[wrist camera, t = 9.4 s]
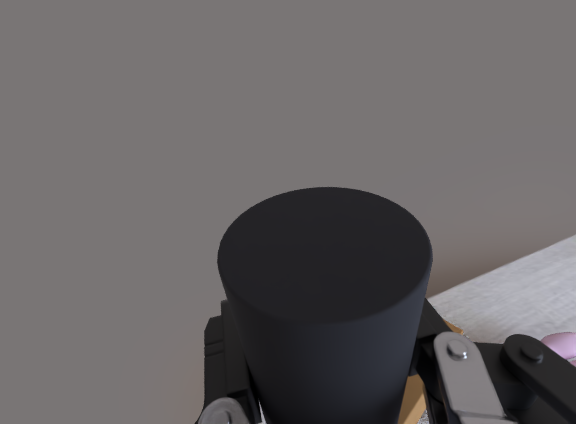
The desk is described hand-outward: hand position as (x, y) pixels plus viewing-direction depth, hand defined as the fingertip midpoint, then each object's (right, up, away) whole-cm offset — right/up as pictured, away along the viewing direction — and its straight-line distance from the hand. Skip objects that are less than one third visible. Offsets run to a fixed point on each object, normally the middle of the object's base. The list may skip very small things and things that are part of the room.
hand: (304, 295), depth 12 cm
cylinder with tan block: (+3, -7, +4) cm, 8 cm away
